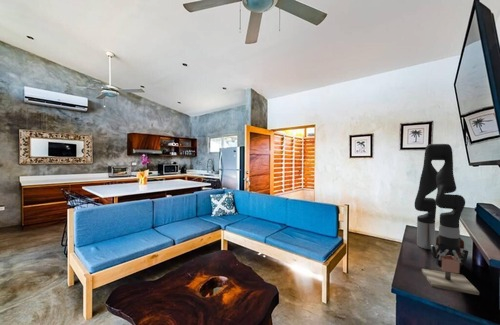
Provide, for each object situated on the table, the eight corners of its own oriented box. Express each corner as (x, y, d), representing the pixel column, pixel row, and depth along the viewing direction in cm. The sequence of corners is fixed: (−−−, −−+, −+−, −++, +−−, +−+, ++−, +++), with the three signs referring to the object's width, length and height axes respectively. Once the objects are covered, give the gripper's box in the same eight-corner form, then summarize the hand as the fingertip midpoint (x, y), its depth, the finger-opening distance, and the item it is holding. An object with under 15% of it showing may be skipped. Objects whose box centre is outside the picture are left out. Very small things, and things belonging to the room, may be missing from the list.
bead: (438, 264, 108) (438, 253, 108) (453, 267, 106) (453, 255, 106) (443, 271, 103) (443, 259, 103) (459, 273, 100) (459, 261, 100)
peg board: (421, 271, 115) (422, 254, 114) (462, 277, 108) (463, 259, 107) (431, 286, 102) (432, 267, 101) (479, 295, 95) (479, 274, 95)
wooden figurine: (456, 260, 124) (457, 230, 123) (465, 266, 118) (465, 234, 117) (433, 258, 127) (433, 229, 126) (440, 264, 121) (440, 233, 120)
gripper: (464, 233, 104) (463, 266, 105) (427, 230, 110) (427, 261, 111) (472, 239, 97) (471, 275, 98) (433, 235, 103) (432, 269, 104)
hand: (448, 267), depth 104 cm, fingers closed on bead, 6 cm apart
